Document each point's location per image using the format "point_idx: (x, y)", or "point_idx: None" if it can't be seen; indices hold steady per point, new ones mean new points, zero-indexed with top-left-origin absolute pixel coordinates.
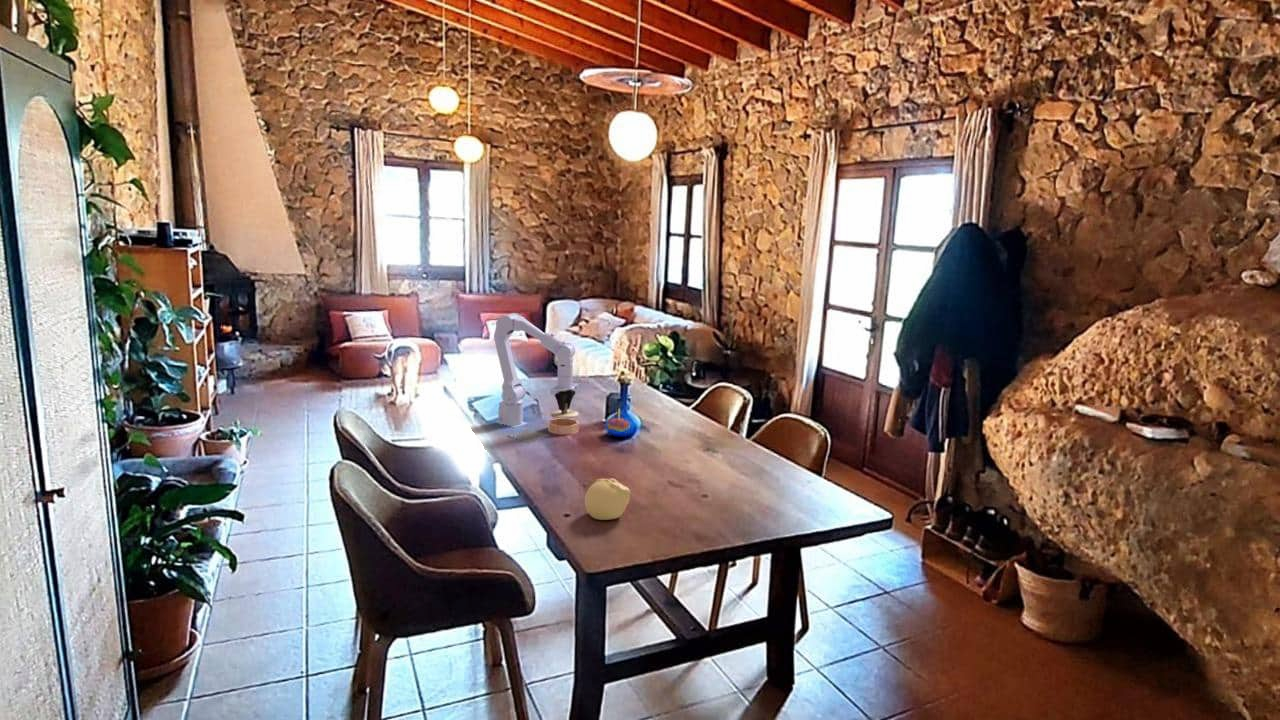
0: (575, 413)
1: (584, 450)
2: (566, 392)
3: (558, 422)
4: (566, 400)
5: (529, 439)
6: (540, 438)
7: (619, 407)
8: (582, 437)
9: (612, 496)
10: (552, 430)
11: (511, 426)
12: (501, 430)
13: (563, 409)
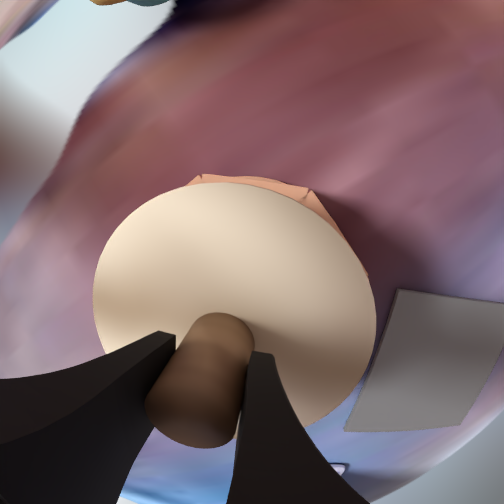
0: (156, 235)
1: (469, 24)
2: None
3: None
4: (126, 428)
5: (489, 330)
6: (465, 299)
7: None
8: (304, 98)
9: None
10: None
11: (341, 474)
12: (385, 469)
13: (272, 358)
